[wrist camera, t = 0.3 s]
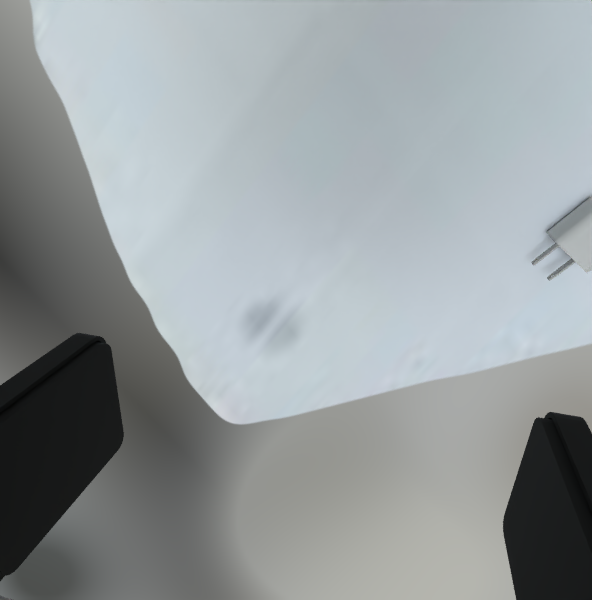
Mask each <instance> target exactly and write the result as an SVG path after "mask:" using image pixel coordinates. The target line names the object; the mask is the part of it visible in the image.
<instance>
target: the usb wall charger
mask: <svg viewBox="0 0 592 600" xmlns="http://www.w3.org/2000/svg"><path fill="white" fill-rule="evenodd" d="M547 234H548V235H549V236H550V237H551V238H552V239H553V240H554V241H555V242H556V243H555V244H554V245H552V246H551V247H550V248H549V249H547V250H546V251H545V252H543V253H542V254H541V255H540V256H538V257H537V258H536V259H535V260H534V261H532V264H533V265H535V264H537V263H538V262H539V261H541V260H542V259H544V258H545V257H546V256H547V255H549V254H550V253H551V252H553V251H554V250H555V249H556V248H558V247H559V246H560V247H561V248H562V249H563V250H564V251H565V252H566V253H567V254H568V255H569V256H570V257H571V258H572V259H570V260H569V261H568V262H566V263H565V264H564V265H562V266H561V267H560V268H558V269H557V270H556V271H554V272H553V273H552V274H551V275H549V276H548V277H547V279H548V280H549V281H550V280H552V279H553V278H555V277H556V276H557V275H559V274H560V273H562V272H563V271H564V270H566V269H567V268H568V267H570V266H571V265H572V264H574V263H575V262H576V263H577V264H578V265H579V266H580V267H581V268H582V269H583V270H584V271H585V272H586V273H588V272H589V271H590V270H592V197H590V198H589V199H587V200H586V201H585V202H584V203H582V204H581V205H580V206H579V207H577V208H576V209H575V210H574V211H572V212H571V213H570V214H569V215H567V216H566V217H565V218H564V219H562V220H561V221H560V222H559V223H557V224H556V225H555V226H554V227H552V228H551V229H550V230H549V231H547ZM535 261H536V262H535ZM553 275H554V276H553ZM551 276H553V277H551Z"/></svg>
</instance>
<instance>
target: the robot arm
mask: <svg viewBox="0 0 592 600" xmlns="http://www.w3.org/2000/svg"><path fill="white" fill-rule="evenodd" d="M123 437H124V432H123V425H122V419H121V412H120V405H119V399H118V392H117V385H116V379H115V372H114V365H113V358H112V351H111V347H110V346H109V345H108V344H106V342H105V340H104V338H102V337H100V336H94V335H88V334H82V333H77V334H75V335H73V336H71V337H70V338H68V339H67V340H65V341H64V342H63V343H61V344H60V345H58V346H57V347H56V348H54V349H52V350H51V351H49V352H48V353H47V354H45V355H44V356H42V357H41V358H39V359H38V360H36V361H35V362H34V363H32V364H31V365H29V366H28V367H26V368H25V369H23V370H22V371H20V372H19V373H18V374H16V375H15V376H13V377H12V378H11V379H9V380H7V381H6V382H5V383H3V384H2V385H0V581H1V580H2V579H3V577H4V576H5V575H10V574H11V573H13V572H14V571H15V570H16V569H17V568H18V567H19V566H20V565H21V564H22V562H23V561H24V560H25V559H26V558H27V556H28V555H29V554H30V553H31V552H32V551H33V550H34V548H35V547H36V546H37V545H38V544H39V542H40V541H41V540H42V539H43V537H45V535H46V534H47V533H48V532H49V531H50V530H51V528H52V527H53V526H54V525H55V524H56V522H57V521H58V520H59V519H60V518H61V517H62V515H63V514H64V513H65V512H66V511H67V509H68V508H69V507H70V506H71V505H72V503H73V502H74V501H75V500H76V499H77V498H78V497H79V495H80V494H81V493H82V492H83V491H84V489H85V488H86V487H87V486H88V485H89V484H90V482H91V481H92V480H93V479H94V478H95V477H96V475H97V474H98V473H99V472H100V471H101V470H102V468H103V467H104V466H105V465H106V464H107V462H108V461H109V460H110V459H111V458H112V457H113V455H114V454H115V453H116V452H117V451H118V449H119V448H120V446H121V444H122V441H123ZM503 532H504V538H505V544H506V548H507V554H508V559H509V564H510V569H511V574H512V580H513V585H514V590H515V595H516V600H592V433H591V431H590V429H589V427H588V425H587V423H586V422H585V420H584V419H583V418H581V417H577V416H571V415H565V414H560V413H554V412H549V413H548V414H547V415H546V416H545V418H536V419H535V421H534V423H533V426H532V430H531V433H530V436H529V439H528V442H527V445H526V448H525V451H524V455H523V458H522V461H521V464H520V467H519V471H518V474H517V477H516V480H515V483H514V486H513V489H512V492H511V496H510V499H509V502H508V505H507V508H506V511H505V515H504V521H503ZM0 600H12V599H8V598H5V597H2V596H0Z"/></svg>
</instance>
